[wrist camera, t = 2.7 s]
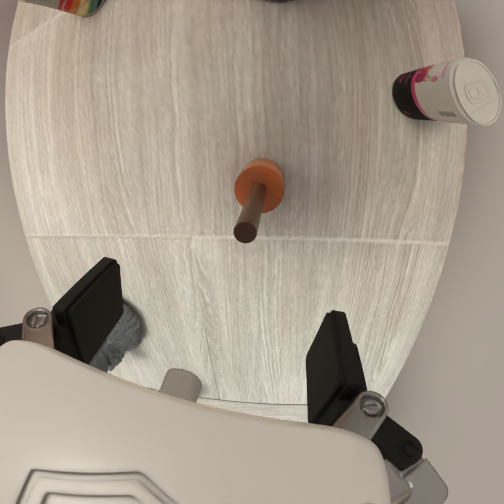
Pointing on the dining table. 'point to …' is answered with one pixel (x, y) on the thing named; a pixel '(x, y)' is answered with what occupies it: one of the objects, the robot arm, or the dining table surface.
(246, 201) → the plunger
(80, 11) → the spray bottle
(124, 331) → the koala plush
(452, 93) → the beverage can
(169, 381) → the cup
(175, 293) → the dining table surface
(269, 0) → the tumbler
